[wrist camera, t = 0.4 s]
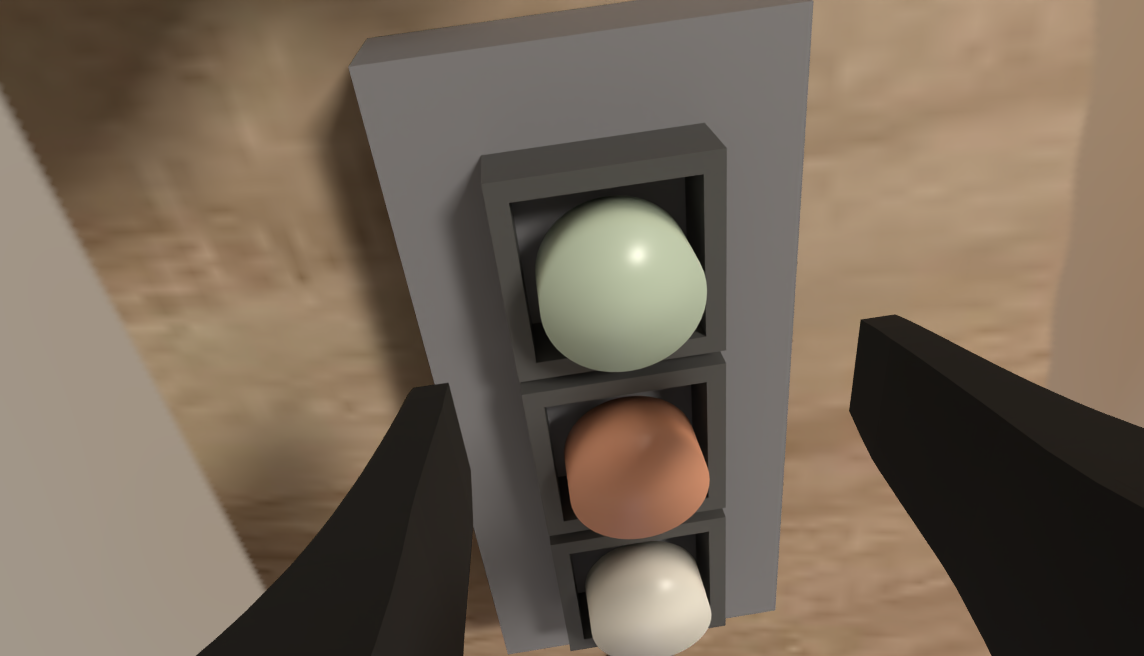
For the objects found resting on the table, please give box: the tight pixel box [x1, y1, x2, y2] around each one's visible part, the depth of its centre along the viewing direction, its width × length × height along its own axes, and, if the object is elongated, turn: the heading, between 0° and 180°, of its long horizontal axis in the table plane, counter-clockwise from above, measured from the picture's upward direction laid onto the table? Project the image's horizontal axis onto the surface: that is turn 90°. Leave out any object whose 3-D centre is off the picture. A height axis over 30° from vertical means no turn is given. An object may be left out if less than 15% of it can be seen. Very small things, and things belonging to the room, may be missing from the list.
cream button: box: [585, 541, 711, 656], centre depth 22 cm, size 4×4×2 cm
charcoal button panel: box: [348, 0, 813, 654], centre depth 22 cm, size 21×10×5 cm, turn 7°
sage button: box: [535, 195, 707, 372], centre depth 16 cm, size 4×4×2 cm
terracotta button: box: [564, 396, 710, 539], centre depth 19 cm, size 4×4×2 cm
